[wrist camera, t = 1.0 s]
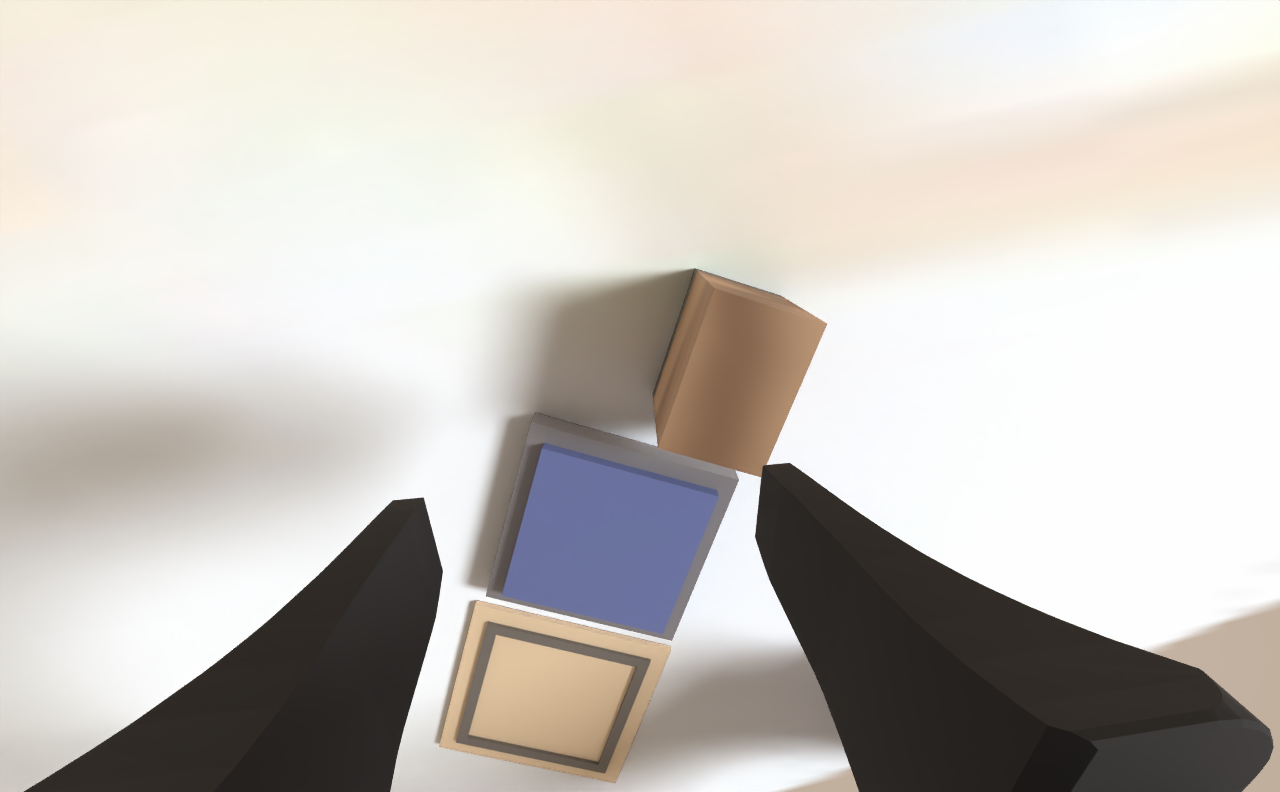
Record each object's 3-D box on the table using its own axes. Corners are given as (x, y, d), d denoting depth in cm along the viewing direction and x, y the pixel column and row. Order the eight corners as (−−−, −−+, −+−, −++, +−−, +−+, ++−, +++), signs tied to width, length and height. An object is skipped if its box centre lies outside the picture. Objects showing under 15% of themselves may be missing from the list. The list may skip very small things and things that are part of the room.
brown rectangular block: (780, 295, 23) (827, 323, 18) (732, 416, 25) (760, 477, 20) (694, 268, 23) (714, 288, 17) (652, 393, 25) (657, 448, 19)
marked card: (670, 646, 30) (671, 653, 29) (615, 778, 33) (615, 786, 33) (476, 600, 29) (474, 606, 28) (440, 742, 32) (437, 750, 32)
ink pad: (734, 468, 26) (741, 486, 24) (670, 623, 29) (672, 649, 28) (535, 412, 25) (528, 427, 23) (491, 580, 28) (482, 604, 26)
